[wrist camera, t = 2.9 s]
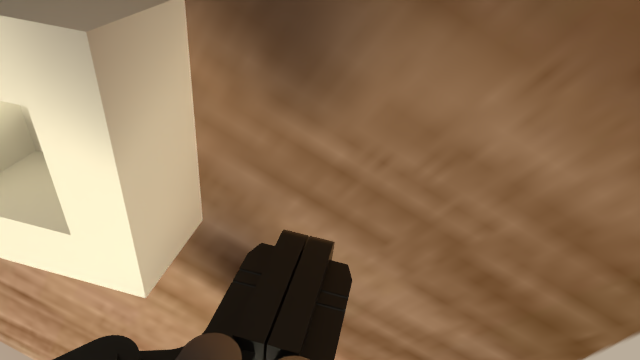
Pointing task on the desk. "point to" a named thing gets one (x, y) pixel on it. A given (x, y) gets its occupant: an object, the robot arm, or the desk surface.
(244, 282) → the robot arm
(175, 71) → the socket block
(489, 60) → the desk surface
